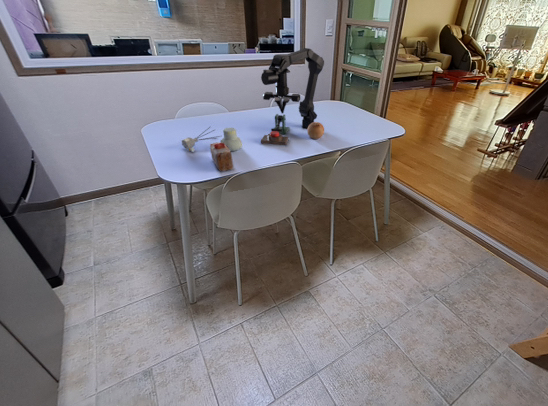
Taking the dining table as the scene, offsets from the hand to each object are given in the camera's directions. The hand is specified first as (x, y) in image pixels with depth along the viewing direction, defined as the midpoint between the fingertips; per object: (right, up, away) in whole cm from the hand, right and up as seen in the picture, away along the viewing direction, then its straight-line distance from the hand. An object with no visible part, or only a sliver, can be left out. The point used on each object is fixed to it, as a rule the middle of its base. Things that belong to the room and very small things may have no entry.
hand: (282, 113), depth 154 cm
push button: (-3, -13, -5) cm, 15 cm away
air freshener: (-23, -22, -13) cm, 34 cm away
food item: (-22, -32, -27) cm, 47 cm away
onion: (+18, -12, +6) cm, 22 cm away
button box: (-4, -16, -3) cm, 17 cm away
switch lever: (-3, -5, +6) cm, 8 cm away
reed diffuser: (-39, -19, -10) cm, 44 cm away
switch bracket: (-3, -7, +11) cm, 14 cm away
